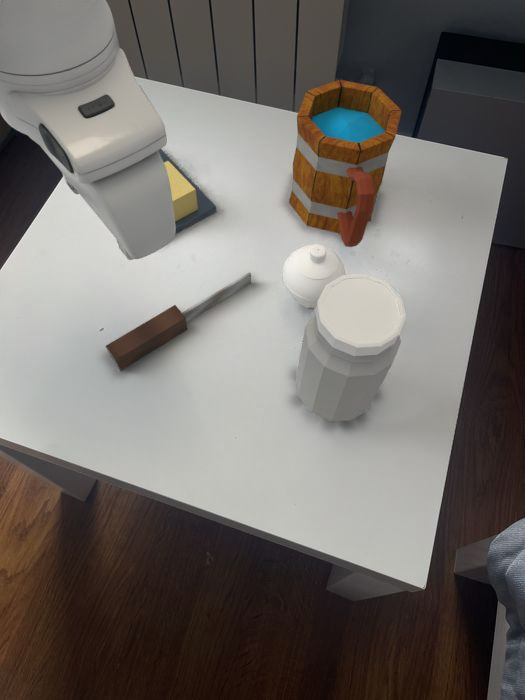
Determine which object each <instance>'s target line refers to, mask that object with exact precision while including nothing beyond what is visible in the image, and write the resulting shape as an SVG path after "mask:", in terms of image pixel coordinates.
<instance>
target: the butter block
mask: <svg viewBox="0 0 525 700" xmlns="http://www.w3.org/2000/svg"><path fill="white" fill-rule="evenodd" d="M164 164H165V167H166V170H167V174H168V177H169V182H170V188H171V194H172V200H173V207H174V216H175V222H176V221H178V220H179V219H181V218H183V217H185V216H187V215H189V214H191V213H192V212H194V211H196V210H198V206H197V197H196V189H195V188H194V187H193V186H192V185H191V184H190V183H189V182H188V181H187V180H186V179H185V178H184V177H183V176H182V175H181V174H180V172H179V171H178V170H177V169H176V168H175V167H174V166H173V165H172V164H171V163H170V162H169V161H166V162H164Z"/></svg>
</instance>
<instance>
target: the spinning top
mask: <svg viewBox="0 0 525 700" xmlns="http://www.w3.org/2000/svg"><path fill="white" fill-rule="evenodd" d="M281 273H282V274H281V275H282V283H283V286H284V288H285V290H286V292H287V293H288V295H289V296H290V297H291V298H292V299H293V301H295V302H296V303H297V304H299V305H300V306H303V307H305V308H307V309H309V308H315V307H316V306H317V301H318V300H319V298H320V296H321V294H322V292H323V290H324V288H325V286H326V285H327V284H328V283H330V282H332V281H333V280H335V279H337V278H339V277H340V276H342V275H347V274H346V268H345V264H344V262H343V260H342V259H341V257H340V256H339V254H337V253H336V251H334V250H333V249H331V248H329V247H328V246H326V245H323V244H319V243H313V244H307V245H303V246H301V247H298V248H297V249H295V250H294V251H293V252H291V254H289V256H288V257H287V259H286V260H285V262H284V263H283V268H282V272H281Z"/></svg>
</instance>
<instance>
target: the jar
mask: <svg viewBox="0 0 525 700" xmlns="http://www.w3.org/2000/svg"><path fill="white" fill-rule="evenodd" d="M406 318H407V314H406V309H405V305H404V301H403V298H402V296H401V295H400V294H399V293H398V292H397V290H396V289H394V288H393V287H392V286H391V284H390V283H389V282H387V280H384V279H381V278H378V277H375V276H373V275H370V274H368V273H351V274H348V273H347V274H346V275H342V276H340V277H339V278H337V279H335V280H333V281H332V282H330V283H328V284H327V285H326V286H325V288H324V290H323V292H322V294H321V296H320V298H319V300H318V301H317V306H316V307H313V310H312V311H311V314H310V316H309V318H308V320H307V321H306V324H305V326H304V331H303V332H304V333H303V337H302V341H301V347H300V348H301V349H300V353H299V358H298V364H297V368H296V374H295V375H296V376H295V381H296V390H297V397H298V398H299V400H301V402H302V403H303V404H304V406H305V407H306V408H307V410H308V411H309V412H310V413H311V414H313V415H315V416H317V417H320V418H322V419H324V420H327V421H329V422H343V421H353V420H354V419H356V418H358V417H359V416H361V415H363V413H364V412H365V413H366V411H367V410H369V409H370V408H371V406H372V404H373V402H374V400H375V398H376V396H377V394H378V392H379V390H380V388H381V387H382V385H383V383H384V381H385V379H386V377H387V375H388V374H389V372H390V369H391V367H392V365H393V364H394V361H395V359H396V356H397V354H398V351H399V349H400V347H401V344H402V339H401V336H400V334H401V331H402V328H403V326H404V324H405V321H406Z"/></svg>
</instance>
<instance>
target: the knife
mask: <svg viewBox="0 0 525 700" xmlns="http://www.w3.org/2000/svg"><path fill="white" fill-rule="evenodd" d="M251 284H252V272H251V271H249V272H248V273H246V274H245V275H243V276H240V277H239V278H238V279H236V280H234V281H233V282H231V283H230V284H228V285H226V286H224V287H222V288H221V289H219V290H218V291H215V292H214V293H213V294H211V295H209V296H207V297H206V298H204V299H203V300H201V301H199V302H198V303H196V304H194V305H193V306H191V307H189V308H188V309H186V310H184V311H181V310H180V309H179V307H178V306H177V305H176V304H173V305H172V306H170V307H169V308H167V309H165V310H164V311H162V312H160V313H159V314H157V315H155V316H153V317H152V318H150V319H148V320H147V321H145V322H143V323H142V324H140V325H138V326H137V327H135V328H133V329H132V330H130V331H127V332H126V333H125V334H123V335H121V336H119V337H117V338H116V339H115V340H113V341H111V342H109V343H108V344H106V345H105V349H106V350H107V353H108V355H109V357H110V359H111V360H112V362H113V363H114V365H115V366H116V367H117V369H118V370H119V371H120V372H121V371H123V370H125V369H127V367H129V366H131V365H133V364H134V363H136V362H137V361H139V360H141V359H143V358H144V357H146V356H148V355H149V354H150V353H152V352H154V351H156V350H157V349H159V348H160V347H162V346H164V345H165V344H167V343H168V342H170V341H173V339H175V338H177V337H179V336H180V335H182V334H184V333H185V332H187V331H188V330H189V328H188V322H189V321H191V320H193V319H195V318H196V317H197V316H200V315H201V314H203V313H204V312H206V311H208V310H209V309H211V308H213V307H214V306H216V305H217V304H219V303H221V302H223V301H224V300H226V299H228V298H229V297H231V296H233V295H234V294H236V293H238V292H239V291H241V290H242V289H244V288H245V287H247V286H250V285H251Z"/></svg>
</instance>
